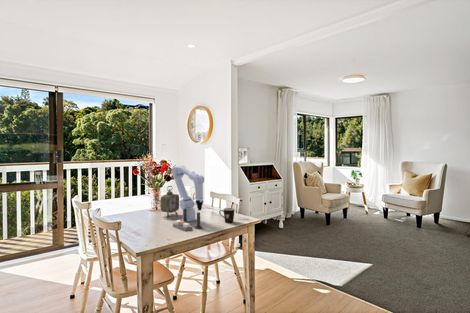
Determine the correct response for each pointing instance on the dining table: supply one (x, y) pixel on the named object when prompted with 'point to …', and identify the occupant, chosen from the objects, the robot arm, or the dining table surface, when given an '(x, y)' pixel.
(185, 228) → the breaker panel
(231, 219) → the coffee mug
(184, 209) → the cord post left
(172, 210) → the tabletop clock
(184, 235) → the dining table surface
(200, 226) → the cord post right
